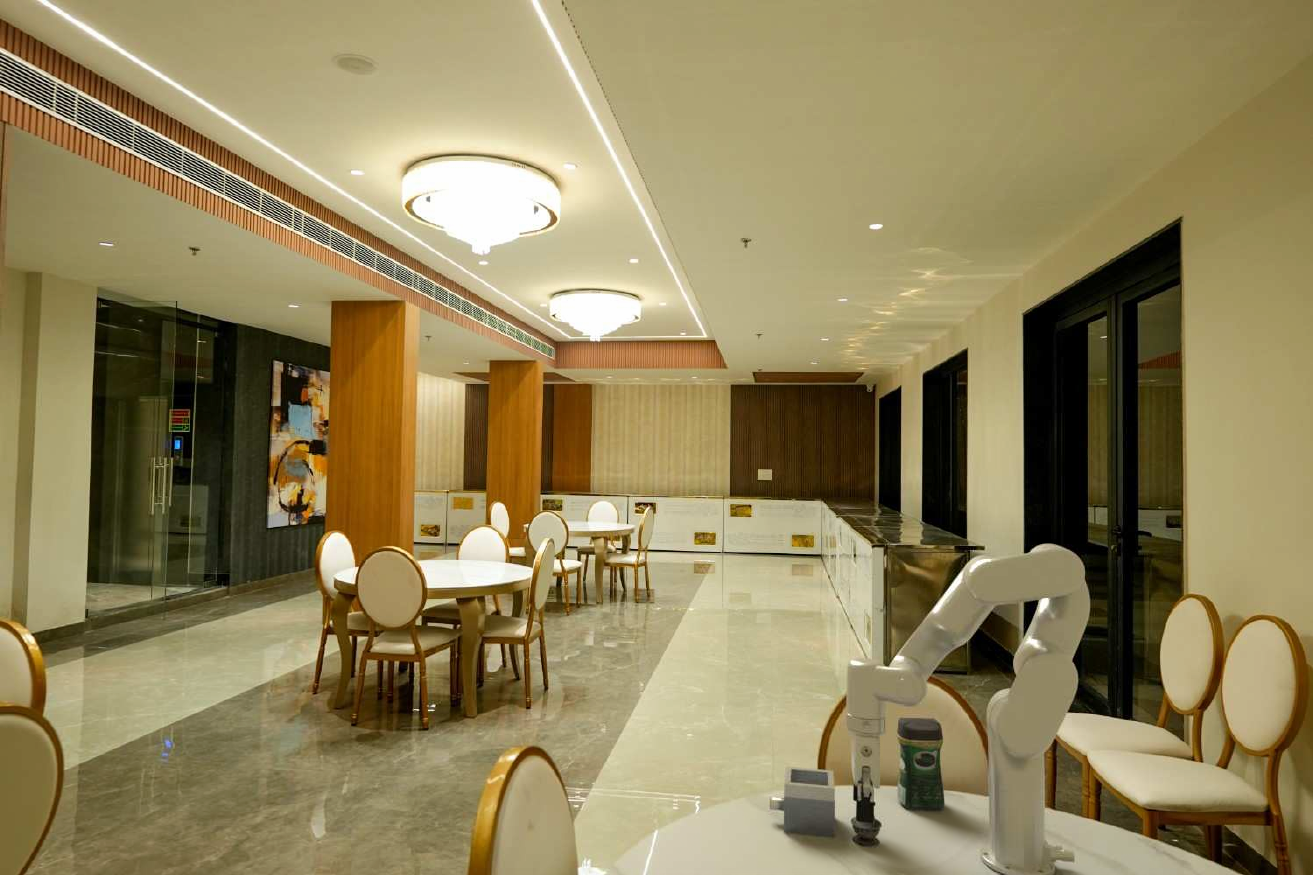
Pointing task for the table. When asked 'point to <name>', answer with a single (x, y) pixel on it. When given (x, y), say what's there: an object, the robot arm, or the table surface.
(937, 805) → the coffee jar
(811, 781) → the grey open box
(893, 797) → the table surface
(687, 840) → the table surface
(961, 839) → the table surface
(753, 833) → the table surface
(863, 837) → the dark grey turned piece
